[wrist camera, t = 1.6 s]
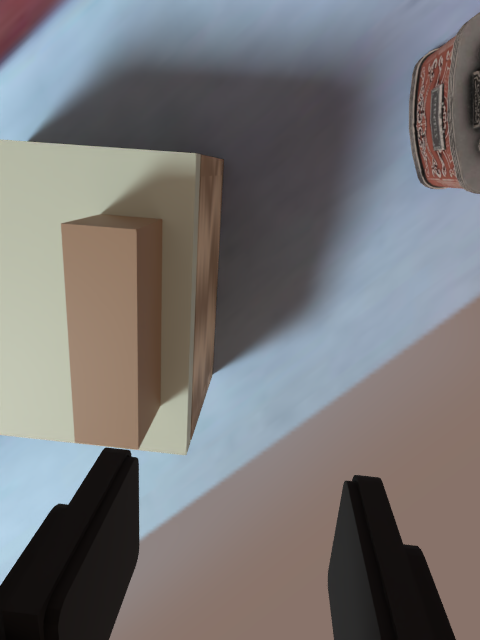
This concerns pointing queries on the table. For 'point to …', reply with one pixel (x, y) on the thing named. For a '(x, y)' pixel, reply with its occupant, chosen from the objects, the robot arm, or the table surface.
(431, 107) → the lighter
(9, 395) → the lid
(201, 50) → the table surface
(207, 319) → the wooden box
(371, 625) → the robot arm
